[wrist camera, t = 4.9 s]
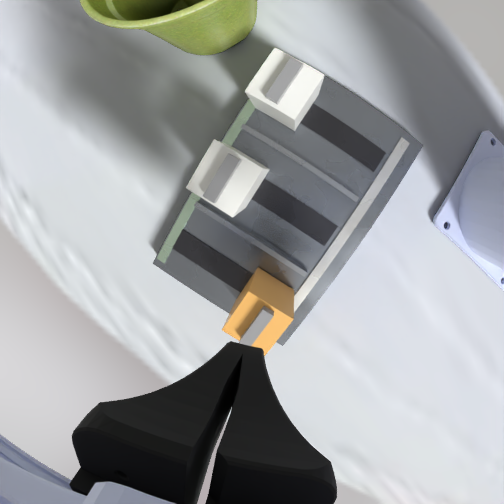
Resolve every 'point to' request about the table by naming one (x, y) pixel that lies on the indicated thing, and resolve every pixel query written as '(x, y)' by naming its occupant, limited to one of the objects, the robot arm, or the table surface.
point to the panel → (293, 202)
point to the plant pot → (181, 20)
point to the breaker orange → (261, 311)
